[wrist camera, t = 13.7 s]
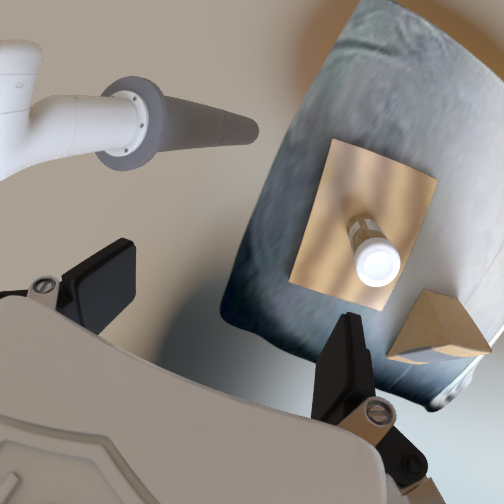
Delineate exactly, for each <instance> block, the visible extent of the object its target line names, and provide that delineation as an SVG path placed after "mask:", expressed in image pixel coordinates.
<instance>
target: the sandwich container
mask: <svg viewBox="0 0 504 504" xmlns="http://www.w3.org/2000/svg"><path fill="white" fill-rule="evenodd" d="M491 352H492V349H491V348H490V346H489V345H488V343H487V341H486V340H485V338H484V337H483V335H482V333H481V332H480V330H479V329H478V327H477V326H476V324H475V323H474V321H473V320H472V318H471V317H470V315H469V314H468V313H467V311H466V310H465V308H464V307H463V306H462V304H461V303H460V302H459V300H458V299H456V298H453V297H449V296H446V295H442V294H439V293H436V292H432V291H428V290H425V289H423V290H422V291H421V293H420V295H419V297H418V299H417V301H416V303H415V305H414V306H413V308H412V310H411V312H410V314H409V315H408V317H407V319H406V321H405V323H404V325H403V327H402V329H401V331H400V332H399V334H398V336H397V338H396V340H395V342H394V344H393V345H392V347H391V349H390V351H389V353H388V354H387V356H386V358H388V359H392V360H396V361H400V362H406V363H412V364H426V363H433V362H440V361H447V360H453V359H459V358H465V357H472V356H477V355H483V354H488V353H491Z"/></svg>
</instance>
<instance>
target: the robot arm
mask: <svg viewBox="0 0 504 504" xmlns="http://www.w3.org/2000/svg"><path fill="white" fill-rule="evenodd" d="M41 59H42V50H41V47H40V46H39V45H38V44H37V43H35V42H32V41H27V40H0V181H1V180H3V179H5V178H7V177H9V176H11V175H13V174H14V173H16V172H18V171H20V170H22V169H24V168H27V167H29V166H32V165H35V164H38V163H41V162H45V161H49V160H54V159H59V158H63V157H69V156H74V155H79V154H85V153H91V152H97V151H105V152H106V153H108V154H110V155H112V156H117V157H120V156H125V155H129V154H130V153H132V152H134V151H135V150H136V149H137V148H138V147H139V146H140V144H141V143H142V141H143V140H144V138H145V135H146V133H147V129H148V125H149V113H148V108H147V105H146V103H145V101H144V99H143V98H142V97H141V96H140V95H139V94H137V93H135V92H133V91H128V90H123V91H119V92H116V93H114V94H113V95H111V96H110V97H102V96H83V95H53V96H49V97H46V98H44V99H42V100H40V101H38V102H37V103H35V104H34V105H33V106H31V107H30V105H31V100H32V96H33V91H34V87H35V83H36V79H37V74H38V71H39V67H40V63H41ZM135 295H136V246H135V245H134V243H133V241H130V240H128V239H125V238H120V239H118V240H117V241H115V242H113V243H112V244H110V245H108V246H107V247H105V248H103V249H102V250H100V251H99V252H97V253H95V254H94V255H92V256H91V257H89V258H87V259H86V260H84V261H83V262H81V263H80V264H78V265H77V266H75V267H74V268H72V269H71V270H69V271H67V272H66V273H65V274H63V275H62V281H61V282H60V283H59V281H58V279H57V278H55V277H53V276H41V277H38V278H36V279H35V280H34V281H33V282H32V283H31V284H30V287H29V290H17V291H2V292H0V504H446V503H445V501H444V500H443V498H442V496H441V494H440V492H439V491H438V489H437V487H436V486H435V483H434V482H433V480H432V478H431V477H430V478H427V477H426V473H427V469H428V463H427V460H426V457H425V456H424V455H423V453H421V452H420V451H419V450H418V449H417V448H416V447H415V446H414V445H413V444H412V443H411V442H410V441H409V440H408V439H407V438H406V437H405V436H404V435H403V434H402V433H401V432H400V431H399V430H398V429H397V428H396V427H395V426H394V423H395V421H396V411H395V409H394V407H393V405H392V404H391V403H390V402H389V401H387V400H386V399H384V398H381V397H377V396H376V394H375V384H374V376H373V369H372V361H371V354H370V351H369V349H366V345H365V338H364V332H363V326H362V320H361V316H360V315H358V314H354V313H351V312H347V313H346V314H342V315H341V316H340V318H339V320H338V322H337V324H336V326H335V328H334V329H333V331H332V333H331V335H330V337H329V339H328V341H327V343H326V344H325V346H324V348H323V350H322V352H321V353H320V355H319V357H318V359H317V362H316V370H315V382H314V392H313V402H312V412H311V419H310V418H307V417H303V416H299V415H295V414H291V413H288V412H284V411H280V410H277V409H273V408H270V407H266V406H263V405H260V404H256V403H253V402H250V401H247V400H244V399H241V398H238V397H234V396H232V395H228V394H226V393H223V392H220V391H217V390H215V389H211V388H209V387H206V386H204V385H201V384H199V383H196V382H194V381H191V380H189V379H186V378H184V377H181V376H179V375H177V374H174V373H172V372H170V371H167V370H165V369H163V368H161V367H158V366H156V365H154V364H152V363H150V362H148V361H145V360H144V359H141V358H139V357H137V356H135V355H133V354H131V353H129V352H127V351H125V350H124V349H122V348H120V347H118V346H116V345H114V344H112V343H110V342H108V341H107V340H105V339H103V338H101V337H99V336H98V335H99V333H100V332H102V331H103V329H105V327H106V326H107V325H108V324H110V322H112V321H113V320H114V319H115V317H117V316H118V315H119V314H120V313H121V312H122V311H123V310H124V308H126V307H127V306H128V305H129V304H130V303H131V302H132V301H133V300H134V298H135Z"/></svg>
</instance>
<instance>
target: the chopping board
mask: <svg viewBox="0 0 504 504" xmlns="http://www.w3.org/2000/svg"><path fill="white" fill-rule="evenodd" d="M437 182H438V180H437V179H435V178H433V177H431V176H429V175H427V174H424V173H422V172H420V171H418V170H416V169H413V168H411V167H409V166H407V165H404V164H402V163H399V162H397V161H395V160H392V159H390V158H387V157H385V156H382V155H380V154H377V153H374V152H372V151H369V150H366V149H364V148H361V147H358V146H355V145H352V144H349V143H346V142H343V141H340V140H337V139H334V138H332V141H331V145H330V148H329V152H328V155H327V159H326V163H325V166H324V170H323V173H322V176H321V180H320V183H319V187H318V190H317V193H316V197H315V200H314V203H313V207H312V210H311V213H310V216H309V220H308V223H307V226H306V229H305V232H304V235H303V239H302V242H301V245H300V248H299V251H298V254H297V257H296V260H295V263H294V266H293V269H292V272H291V275H290V278H289V281H288V282H290V283H293V284H296V285H299V286H302V287H305V288H308V289H312V290H315V291H318V292H321V293H324V294H327V295H331V296H334V297H337V298H340V299H343V300H347V301H350V302H353V303H356V304H359V305H363V306H366V307H369V308H373V309H376V310H379V311H382V310H383V308H384V306H385V304H386V302H387V300H388V299H389V297H390V295H391V293H392V291H393V289H394V287H395V285H396V283H397V281H398V279H399V277H400V275H401V273H402V271H403V268H404V266H405V264H406V262H407V260H408V258H409V255H410V253H411V251H412V249H413V246H414V244H415V242H416V239H417V237H418V234H419V232H420V229H421V227H422V224H423V222H424V219H425V217H426V214H427V211H428V208H429V206H430V203H431V200H432V197H433V194H434V191H435V188H436V185H437ZM362 213H363V214H368V215H370V216H372V217H373V218H374V219H375V221H376V223H377V224H378V225H379V227H380V228H381V230H382V231H383V233H384V234H385V236H386V237H387V239H388V241H390V242H391V243H392V244H393V245H394V247H395V248H396V250H397V252H398V254H399V257H400V269H399V272H398V274H397V276H396V277H395V278H394V279H393V280H392V281H391V282H390V283H388V284H387V285H384V286H381V287H372V286H369V285H366V284H365V283H363V282H362V281H361V280H360V279H359V277H358V276H357V273H356V270H355V266H354V254H353V251H352V248H351V244H350V240H349V237H348V235H347V225H348V222H349V221H350V219H351V218H352V217H353V216H355V215H357V214H362Z"/></svg>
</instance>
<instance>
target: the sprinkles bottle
mask: <svg viewBox="0 0 504 504" xmlns="http://www.w3.org/2000/svg"><path fill="white" fill-rule="evenodd" d="M347 235H348V237H349V240H350V244H351V248H352V251H353V254H354V266H355V270H356V273H357V276H358V277H359V279H360V280H361V281H362V282H363V283H365V284H366V285H369V286H372V287H381V286H384V285H387V284H388V283H390V282H391V281H392V280H393V279H394V278H395V277H396V276H397V274H398V272H399V269H400V257H399V254H398V252H397V250H396V248H395V247H394V245H393V244H392V243H391V242H390V241H388V239H387V237H386V236H385V234H384V233H383V231H382V230H381V228H380V227H379V225H378V224H377V223H376V221H375V219H374V218H373V217H372V216H370V215H368V214H363V213H362V214H357V215H355V216H353V217H352V218H351V219H350V221H349V222H348V225H347Z"/></svg>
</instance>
